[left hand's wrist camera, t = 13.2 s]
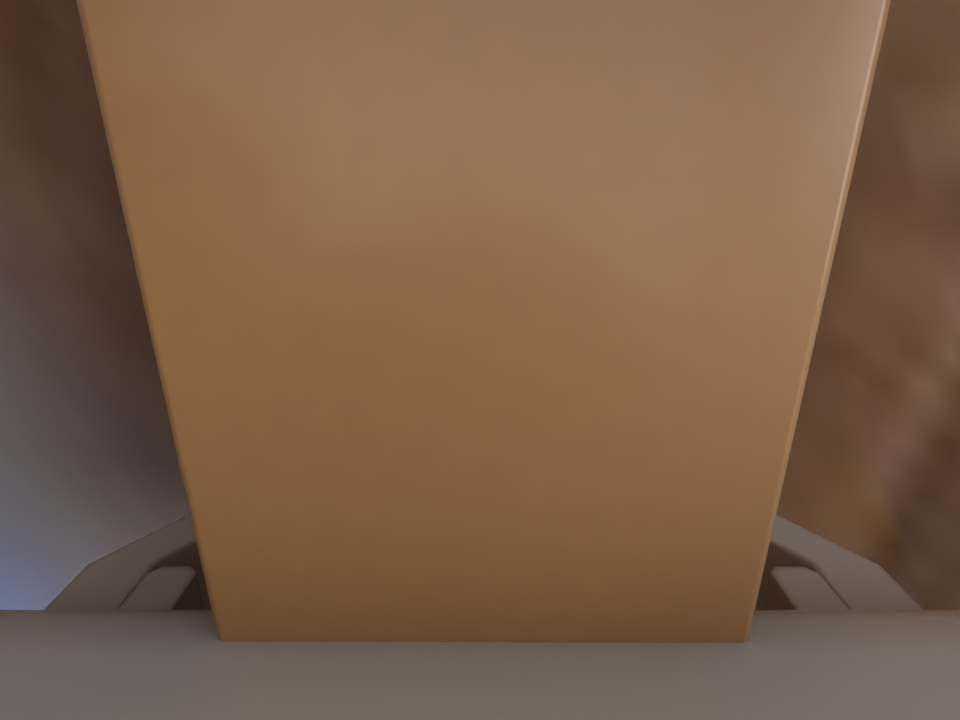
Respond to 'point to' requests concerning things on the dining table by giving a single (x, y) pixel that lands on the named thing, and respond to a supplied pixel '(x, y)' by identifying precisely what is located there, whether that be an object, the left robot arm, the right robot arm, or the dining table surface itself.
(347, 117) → the bar
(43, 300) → the dining table surface
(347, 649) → the left robot arm
